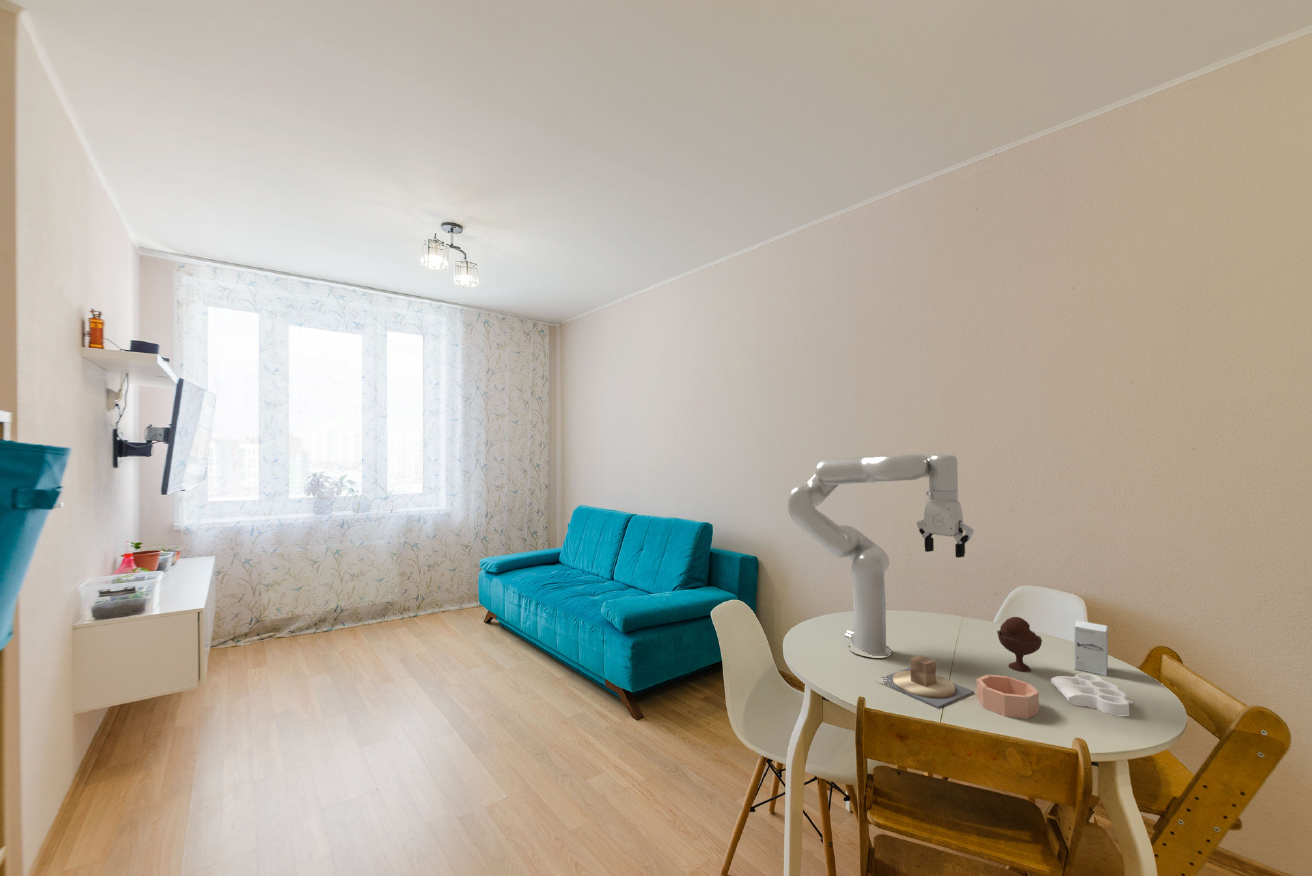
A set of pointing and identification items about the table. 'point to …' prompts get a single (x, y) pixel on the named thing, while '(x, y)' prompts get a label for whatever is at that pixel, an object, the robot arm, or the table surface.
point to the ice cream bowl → (1018, 641)
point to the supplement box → (1091, 647)
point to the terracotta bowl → (1008, 696)
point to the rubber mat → (935, 702)
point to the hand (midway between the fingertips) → (944, 554)
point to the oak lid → (924, 680)
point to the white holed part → (1092, 693)
